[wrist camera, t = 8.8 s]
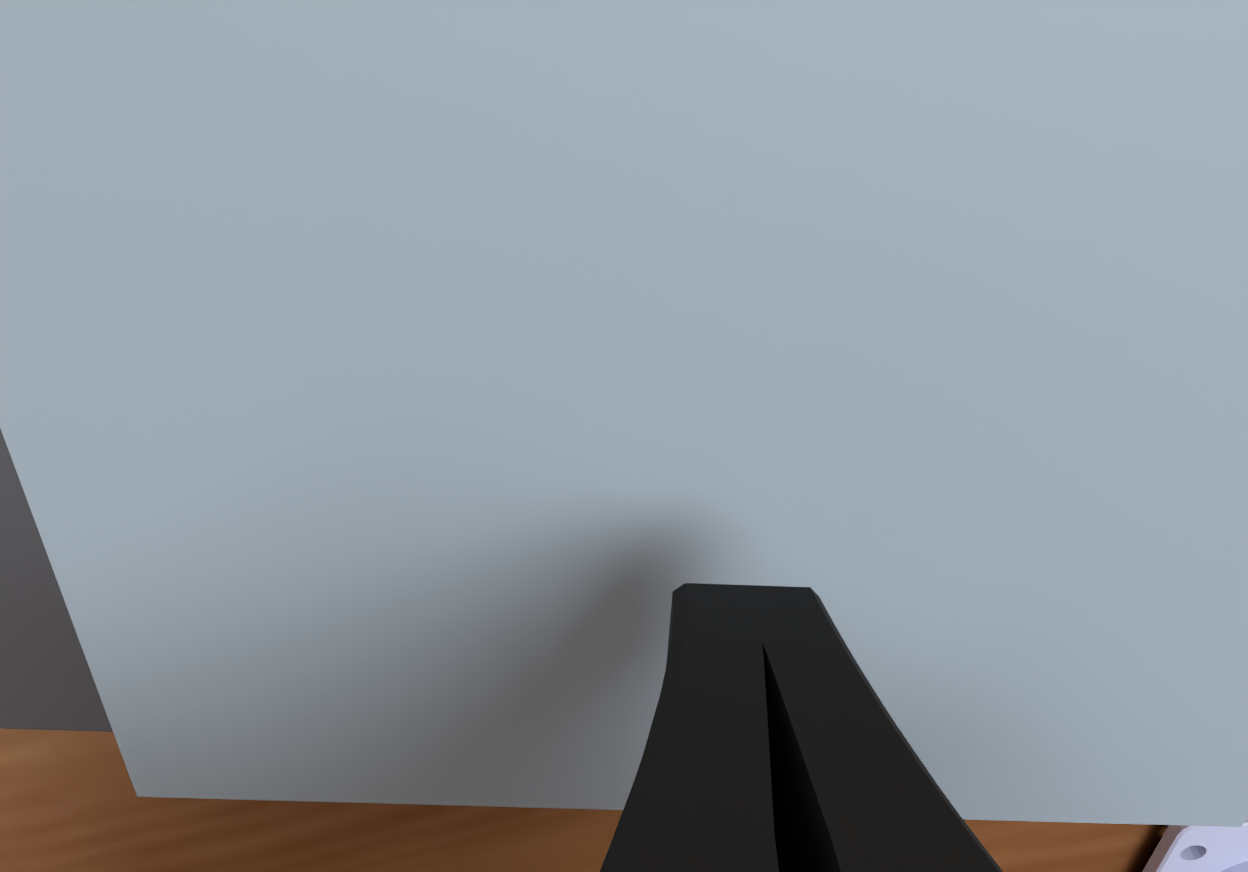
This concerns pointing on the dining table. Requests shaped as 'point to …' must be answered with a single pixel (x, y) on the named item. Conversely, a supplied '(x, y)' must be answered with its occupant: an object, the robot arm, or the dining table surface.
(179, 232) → the deck
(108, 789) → the dining table surface
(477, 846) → the dining table surface
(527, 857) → the dining table surface
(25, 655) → the mat
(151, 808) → the dining table surface
